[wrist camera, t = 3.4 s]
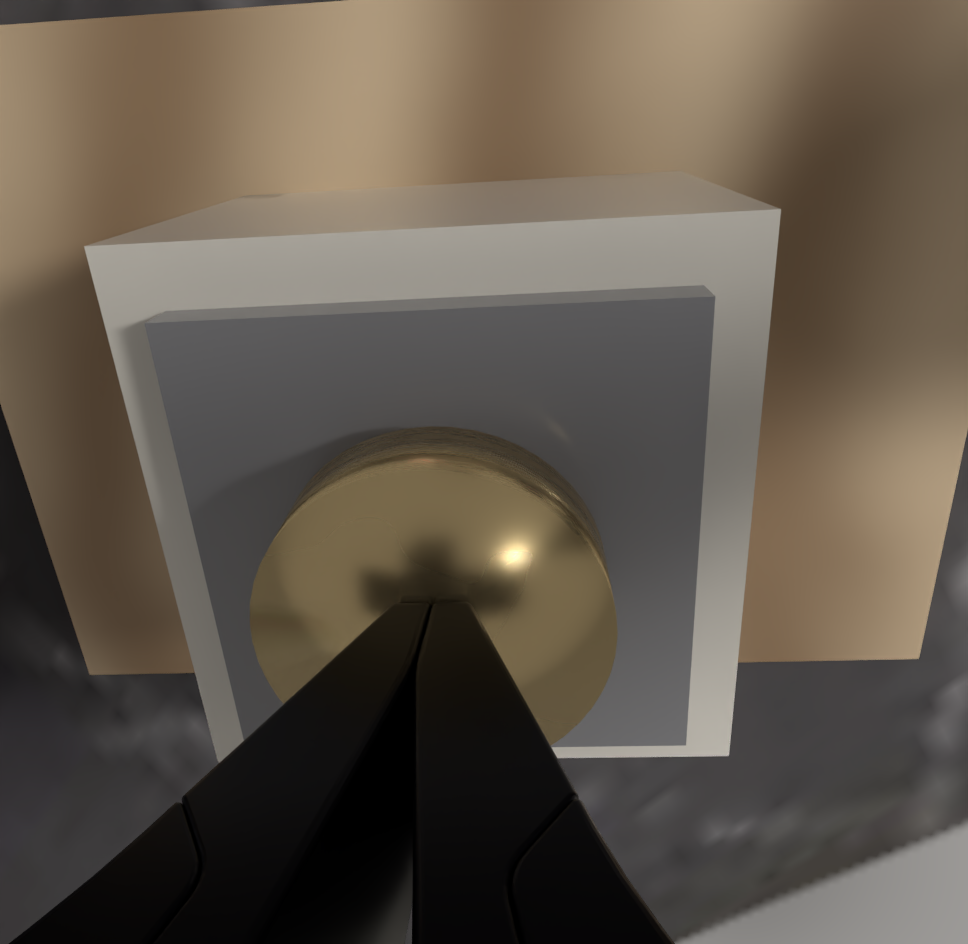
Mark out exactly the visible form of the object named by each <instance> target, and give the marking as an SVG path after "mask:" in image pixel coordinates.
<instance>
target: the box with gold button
mask: <svg viewBox="0 0 968 944" xmlns="http://www.w3.org/2000/svg"><path fill="white" fill-rule="evenodd" d="M780 215H781V209H780V208H777V207H774V206H772V205H769V204H766V203H764V202H761V201H758V200H756V199H753V198H751V197H748V196H745V195H743V194H740V193H737V192H735V191H732V190H730V189H727V188H724V187H722V186H719V185H716V184H714V183H711V182H709V181H706V180H703V179H701V178H698V177H695V176H693V175H690V174H688V173H685V172H682V171H669V172H652V173H634V174H616V175H599V176H581V177H564V178H546V179H528V180H511V181H493V182H475V183H458V184H440V185H422V186H405V187H387V188H370V189H352V190H334V191H317V192H299V193H281V194H264V195H246V196H242V197H239V198H236V199H233V200H230V201H227V202H223V203H220V204H217V205H214V206H211V207H207V208H204V209H201V210H198V211H195V212H192V213H188V214H185V215H182V216H179V217H176V218H172V219H169V220H166V221H163V222H160V223H157V224H153V225H150V226H147V227H144V228H141V229H138V230H134V231H131V232H128V233H125V234H122V235H118V236H115V237H112V238H109V239H106V240H103V241H99V242H96V243H93V244H90V245H87V246H84V248H85V252H86V256H87V260H88V264H89V267H90V271H91V275H92V279H93V283H94V287H95V291H96V294H97V298H98V302H99V306H100V310H101V314H102V317H103V321H104V325H105V329H106V333H107V337H108V341H109V344H110V348H111V352H112V356H113V360H114V364H115V367H116V371H117V375H118V379H119V383H120V387H121V391H122V394H123V398H124V402H125V406H126V410H127V414H128V417H129V421H130V425H131V429H132V433H133V437H134V441H135V444H136V448H137V452H138V456H139V460H140V464H141V467H142V471H143V475H144V479H145V483H146V487H147V491H148V494H149V498H150V502H151V506H152V510H153V514H154V517H155V521H156V525H157V529H158V533H159V537H160V541H161V544H162V548H163V552H164V556H165V560H166V564H167V567H168V571H169V575H170V579H171V583H172V587H173V591H174V594H175V598H176V602H177V606H178V610H179V614H180V617H181V621H182V625H183V629H184V633H185V637H186V641H187V644H188V648H189V652H190V656H191V660H192V664H193V667H194V671H195V675H196V679H197V683H198V687H199V691H200V694H201V698H202V702H203V706H204V710H205V714H206V717H207V721H208V725H209V729H210V733H211V737H212V741H213V744H214V748H215V752H216V756H217V760H218V762H221V761H222V760H223V759H224V758H225V757H226V756H228V755H229V754H230V753H231V752H232V751H233V750H234V749H235V748H236V747H237V746H238V745H240V744H241V743H242V742H243V741H244V740H245V739H246V738H247V737H248V736H249V735H250V734H252V733H253V732H254V731H255V730H256V729H257V728H258V727H259V726H260V725H261V724H262V723H264V722H265V721H266V720H267V719H268V718H269V717H270V716H271V715H272V714H273V713H274V712H276V711H277V710H278V709H279V708H280V707H281V706H282V705H283V703H282V701H281V700H280V699H279V698H278V697H277V695H276V694H275V692H274V690H273V689H272V687H271V686H270V684H269V683H268V681H267V679H266V677H265V675H264V673H263V671H262V669H261V666H260V664H259V662H258V659H257V656H256V653H255V649H254V646H253V642H252V636H251V629H250V599H251V594H252V588H253V583H254V580H255V577H256V574H257V571H258V568H259V566H260V563H261V561H262V559H263V558H264V556H265V554H266V552H267V550H268V548H269V547H270V545H271V543H272V541H273V539H274V538H275V536H276V534H277V532H278V531H279V529H280V527H281V525H282V524H283V522H284V520H285V518H286V517H287V515H288V513H289V511H290V510H291V508H292V506H293V504H294V503H295V501H296V499H297V497H298V496H299V494H300V493H301V491H302V490H303V489H304V487H305V486H306V485H307V483H308V482H309V481H310V480H311V478H312V477H313V476H314V475H315V474H316V473H317V472H318V471H319V470H320V469H321V468H323V467H324V466H325V465H326V464H327V463H328V462H330V461H331V460H332V459H334V458H335V457H336V456H338V455H339V454H341V453H342V452H343V451H345V450H347V449H349V448H351V447H353V446H355V445H357V444H358V443H360V442H362V441H365V440H368V439H370V438H373V437H376V436H378V435H381V434H384V433H389V432H393V431H397V430H402V429H407V428H417V427H427V426H434V427H456V428H462V429H469V430H475V431H479V432H483V433H486V434H490V435H494V436H497V437H500V438H502V439H505V440H507V441H509V442H512V443H514V444H517V445H519V446H521V447H523V448H524V449H526V450H528V451H530V452H531V453H533V454H535V455H537V456H538V457H540V458H541V459H542V460H544V461H545V462H546V463H548V464H549V465H550V466H552V467H553V468H554V469H556V470H557V471H558V472H559V473H560V474H561V475H562V476H563V477H564V478H565V479H566V480H567V481H568V482H569V483H570V484H571V485H572V486H573V488H574V489H575V490H576V491H577V493H578V494H579V495H580V497H581V498H582V499H583V501H584V502H585V504H586V506H587V507H588V509H589V511H590V513H591V514H592V516H593V518H594V520H595V523H596V525H597V528H598V530H599V533H600V535H601V539H602V543H603V548H604V552H605V557H606V562H607V567H608V573H609V578H610V583H611V588H612V593H613V598H614V604H615V609H616V615H617V631H618V636H617V646H616V655H615V659H614V662H613V666H612V670H611V673H610V676H609V678H608V680H607V683H606V685H605V687H604V690H603V692H602V693H601V695H600V696H599V698H598V699H597V701H596V703H595V704H594V706H593V707H592V709H591V710H590V711H589V712H588V713H587V715H586V716H585V717H584V718H583V719H582V720H581V722H580V723H579V724H578V725H576V726H575V727H574V728H573V729H572V730H571V731H570V732H569V733H568V734H566V735H565V736H564V737H563V738H561V739H560V740H558V741H557V742H555V743H554V744H553V745H551V748H552V749H553V751H554V753H555V755H556V757H557V758H605V757H687V756H729V749H730V739H731V728H732V718H733V707H734V697H735V686H736V676H737V665H738V655H739V644H740V634H741V623H742V613H743V602H744V592H745V582H746V571H747V561H748V550H749V540H750V529H751V519H752V508H753V498H754V487H755V477H756V466H757V456H758V446H759V435H760V425H761V414H762V404H763V393H764V383H765V372H766V362H767V351H768V341H769V330H770V320H771V309H772V299H773V289H774V278H775V268H776V257H777V247H778V236H779V226H780ZM446 297H447V298H446Z"/></svg>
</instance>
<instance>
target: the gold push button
mask: <svg viewBox="0 0 968 944" xmlns="http://www.w3.org/2000/svg"><path fill="white" fill-rule="evenodd" d="M446 298H447V297H446ZM438 602H468V603H470V604H471V605H472V606H473V608H474V610H475V612H476V613H477V615H478V617H479V619H480V621H481V622H482V624H483V626H484V628H485V629H486V631H487V633H488V635H489V637H490V638H491V640H492V642H493V644H494V646H495V647H496V649H497V651H498V653H499V655H500V656H501V658H502V660H503V662H504V663H505V665H506V667H507V669H508V671H509V672H510V674H511V676H512V678H513V680H514V681H515V683H516V685H517V687H518V689H519V690H520V692H521V694H522V696H523V697H524V699H525V701H526V703H527V705H528V706H529V708H530V710H531V712H532V714H533V715H534V717H535V719H536V721H537V723H538V724H539V726H540V728H541V730H542V731H543V733H544V735H545V737H546V739H547V740H548V742H549V744H550V746H551V745H553V744H554V743H555V742H557V741H558V740H560V739H561V738H563V737H564V736H565V735H566V734H568V733H569V732H570V731H571V730H572V729H573V728H574V727H575V726H576V725H578V724H579V723H580V722H581V720H582V719H583V718H584V717H585V716H586V715H587V713H588V712H589V711H590V710H591V709H592V707H593V706H594V704H595V703H596V701H597V699H598V698H599V696H600V695H601V693H602V692H603V690H604V687H605V685H606V683H607V680H608V678H609V676H610V673H611V670H612V666H613V662H614V659H615V655H616V646H617V636H618V631H617V615H616V609H615V604H614V598H613V593H612V588H611V583H610V578H609V573H608V567H607V562H606V557H605V552H604V548H603V543H602V539H601V535H600V533H599V530H598V528H597V525H596V523H595V520H594V518H593V516H592V514H591V513H590V511H589V509H588V507H587V506H586V504H585V502H584V501H583V499H582V498H581V497H580V495H579V494H578V493H577V491H576V490H575V489H574V488H573V486H572V485H571V484H570V483H569V482H568V481H567V480H566V479H565V478H564V477H563V476H562V475H561V474H560V473H559V472H558V471H557V470H556V469H554V468H553V467H552V466H550V465H549V464H548V463H546V462H545V461H544V460H542V459H541V458H540V457H538V456H537V455H535V454H533V453H531V452H530V451H528V450H526V449H524V448H523V447H521V446H519V445H517V444H514V443H512V442H509V441H507V440H505V439H502V438H500V437H497V436H494V435H490V434H486V433H483V432H479V431H475V430H469V429H462V428H456V427H434V426H427V427H417V428H407V429H402V430H397V431H393V432H389V433H384V434H381V435H378V436H376V437H373V438H370V439H368V440H365V441H362V442H360V443H358V444H357V445H355V446H353V447H351V448H349V449H347V450H345V451H343V452H342V453H341V454H339V455H338V456H336V457H335V458H334V459H332V460H331V461H330V462H328V463H327V464H326V465H325V466H324V467H323V468H321V469H320V470H319V471H318V472H317V473H316V474H315V475H314V476H313V477H312V478H311V480H310V481H309V482H308V483H307V485H306V486H305V487H304V489H303V490H302V491H301V493H300V494H299V496H298V497H297V499H296V501H295V503H294V504H293V506H292V508H291V510H290V511H289V513H288V515H287V517H286V518H285V520H284V522H283V524H282V525H281V527H280V529H279V531H278V532H277V534H276V536H275V538H274V539H273V541H272V543H271V545H270V547H269V548H268V550H267V552H266V554H265V556H264V558H263V559H262V561H261V563H260V566H259V568H258V571H257V574H256V577H255V580H254V583H253V588H252V594H251V599H250V629H251V636H252V642H253V646H254V649H255V653H256V656H257V659H258V662H259V664H260V666H261V669H262V671H263V673H264V675H265V677H266V679H267V681H268V683H269V684H270V686H271V687H272V689H273V690H274V692H275V694H276V695H277V697H278V698H279V699H280V700H281V701H282V703H283V704H284V703H285V702H286V701H288V700H289V699H290V698H291V697H292V696H293V695H294V694H295V693H296V692H297V691H298V690H300V689H301V688H302V687H303V686H304V685H305V684H306V683H307V682H308V681H309V680H310V679H312V678H313V677H314V676H315V675H316V674H317V673H318V672H319V671H320V670H321V669H322V668H324V667H325V666H326V665H327V664H328V663H329V662H330V661H331V660H332V659H333V658H334V657H336V656H337V655H338V654H339V653H340V652H341V651H342V650H343V649H344V648H345V647H346V646H348V645H349V644H350V643H351V642H352V641H353V640H354V639H355V638H356V637H357V636H358V635H360V634H361V633H362V632H363V631H364V630H365V629H366V628H367V627H368V626H369V625H370V624H372V623H373V622H374V621H375V620H376V619H377V618H378V617H379V616H380V615H381V614H382V613H384V612H385V611H386V610H387V609H388V608H389V607H390V606H392V605H393V604H396V603H428V604H429V605H430V606H431V608H432V606H433V605H434V604H435V603H438Z"/></svg>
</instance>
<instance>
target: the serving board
mask: <svg viewBox="0 0 968 944" xmlns="http://www.w3.org/2000/svg"><path fill="white" fill-rule="evenodd" d="M669 171H682V172H685V173H688V174H690V175H693V176H695V177H698V178H701V179H703V180H706V181H709V182H711V183H714V184H716V185H719V186H722V187H724V188H727V189H730V190H732V191H735V192H737V193H740V194H743V195H745V196H748V197H751V198H753V199H756V200H758V201H761V202H764V203H766V204H769V205H772V206H774V207H777V208H780V209H781V215H780V226H779V236H778V247H777V257H776V268H775V278H774V289H773V299H772V309H771V320H770V330H769V341H768V351H767V362H766V372H765V383H764V393H763V404H762V414H761V425H760V435H759V446H758V456H757V466H756V477H755V487H754V498H753V508H752V519H751V529H750V540H749V550H748V561H747V571H746V582H745V592H744V602H743V613H742V623H741V634H740V644H739V655H738V662H783V661H835V660H886V659H919V656H920V651H921V646H922V642H923V637H924V632H925V627H926V623H927V618H928V613H929V609H930V604H931V599H932V595H933V590H934V585H935V581H936V576H937V571H938V566H939V562H940V557H941V552H942V548H943V543H944V538H945V534H946V529H947V524H948V520H949V515H950V510H951V505H952V501H953V496H954V491H955V487H956V482H957V477H958V473H959V468H960V463H961V459H962V454H963V449H964V444H965V440H966V435H967V430H968V0H347V1H333V2H319V3H305V4H291V5H277V6H263V7H249V8H235V9H221V10H207V11H193V12H179V13H165V14H151V15H137V16H123V17H109V18H95V19H81V20H67V21H53V22H39V23H25V24H11V25H0V404H1V407H2V410H3V413H4V416H5V419H6V422H7V425H8V428H9V431H10V434H11V437H12V440H13V444H14V447H15V450H16V453H17V456H18V459H19V462H20V465H21V468H22V471H23V474H24V477H25V480H26V483H27V486H28V489H29V492H30V495H31V498H32V501H33V504H34V507H35V510H36V513H37V516H38V519H39V522H40V525H41V529H42V532H43V535H44V538H45V541H46V544H47V547H48V550H49V553H50V556H51V559H52V562H53V565H54V568H55V571H56V574H57V577H58V580H59V583H60V586H61V589H62V592H63V595H64V598H65V601H66V604H67V607H68V610H69V614H70V617H71V620H72V623H73V626H74V629H75V632H76V635H77V638H78V641H79V644H80V647H81V650H82V653H83V656H84V659H85V662H86V665H87V668H88V671H89V674H90V675H112V674H164V673H195V671H194V667H193V664H192V660H191V656H190V652H189V648H188V644H187V641H186V637H185V633H184V629H183V625H182V621H181V617H180V614H179V610H178V606H177V602H176V598H175V594H174V591H173V587H172V583H171V579H170V575H169V571H168V567H167V564H166V560H165V556H164V552H163V548H162V544H161V541H160V537H159V533H158V529H157V525H156V521H155V517H154V514H153V510H152V506H151V502H150V498H149V494H148V491H147V487H146V483H145V479H144V475H143V471H142V467H141V464H140V460H139V456H138V452H137V448H136V444H135V441H134V437H133V433H132V429H131V425H130V421H129V417H128V414H127V410H126V406H125V402H124V398H123V394H122V391H121V387H120V383H119V379H118V375H117V371H116V367H115V364H114V360H113V356H112V352H111V348H110V344H109V341H108V337H107V333H106V329H105V325H104V321H103V317H102V314H101V310H100V306H99V302H98V298H97V294H96V291H95V287H94V283H93V279H92V275H91V271H90V267H89V264H88V260H87V256H86V252H85V248H84V246H87V245H90V244H93V243H96V242H99V241H103V240H106V239H109V238H112V237H115V236H118V235H122V234H125V233H128V232H131V231H134V230H138V229H141V228H144V227H147V226H150V225H153V224H157V223H160V222H163V221H166V220H169V219H172V218H176V217H179V216H182V215H185V214H188V213H192V212H195V211H198V210H201V209H204V208H207V207H211V206H214V205H217V204H220V203H223V202H227V201H230V200H233V199H236V198H239V197H242V196H246V195H264V194H281V193H299V192H317V191H334V190H352V189H370V188H387V187H405V186H422V185H440V184H458V183H475V182H493V181H511V180H528V179H546V178H564V177H581V176H599V175H616V174H634V173H652V172H669Z"/></svg>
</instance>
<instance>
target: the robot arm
mask: <svg viewBox="0 0 968 944" xmlns="http://www.w3.org/2000/svg"><path fill="white" fill-rule="evenodd" d="M182 804H183V805H182ZM411 908H412V944H675V943H674V942H673V941H672V939H671V938H670V937H669V935H668V934H667V933H666V931H665V930H664V929H663V927H662V926H661V924H660V923H659V922H658V920H657V919H656V917H655V916H654V915H653V913H652V912H651V910H650V909H649V908H648V906H647V905H646V903H645V902H644V901H643V899H642V898H641V896H640V895H639V894H638V892H637V891H636V889H635V888H634V887H633V885H632V884H631V882H630V881H629V880H628V878H627V877H626V875H625V873H624V872H623V870H622V868H621V867H620V865H619V864H618V862H617V860H616V859H615V857H614V855H613V854H612V852H611V850H610V849H609V847H608V846H607V844H606V842H605V841H604V839H603V837H602V836H601V834H600V833H599V831H598V829H597V827H596V825H595V824H594V822H593V820H592V818H591V817H590V815H589V813H588V811H587V809H586V808H585V806H584V804H583V802H582V801H581V800H578V794H577V792H576V791H575V789H574V787H573V785H572V783H571V782H570V780H569V778H568V776H567V774H566V773H565V771H564V769H563V767H562V766H561V764H560V762H559V760H558V758H557V757H556V755H555V753H554V751H553V749H552V748H551V746H550V744H549V742H548V740H547V739H546V737H545V735H544V733H543V731H542V730H541V728H540V726H539V724H538V723H537V721H536V719H535V717H534V715H533V714H532V712H531V710H530V708H529V706H528V705H527V703H526V701H525V699H524V697H523V696H522V694H521V692H520V690H519V689H518V687H517V685H516V683H515V681H514V680H513V678H512V676H511V674H510V672H509V671H508V669H507V667H506V665H505V663H504V662H503V660H502V658H501V656H500V655H499V653H498V651H497V649H496V647H495V646H494V644H493V642H492V640H491V638H490V637H489V635H488V633H487V631H486V629H485V628H484V626H483V624H482V622H481V621H480V619H479V617H478V615H477V613H476V612H475V610H474V608H473V606H472V605H471V604H470V603H468V602H438V603H435V604H434V605H433V606H432V608H431V606H430V605H429V604H428V603H396V604H393V605H392V606H390V607H389V608H388V609H387V610H386V611H385V612H384V613H382V614H381V615H380V616H379V617H378V618H377V619H376V620H375V621H374V622H373V623H372V624H370V625H369V626H368V627H367V628H366V629H365V630H364V631H363V632H362V633H361V634H360V635H358V636H357V637H356V638H355V639H354V640H353V641H352V642H351V643H350V644H349V645H348V646H346V647H345V648H344V649H343V650H342V651H341V652H340V653H339V654H338V655H337V656H336V657H334V658H333V659H332V660H331V661H330V662H329V663H328V664H327V665H326V666H325V667H324V668H322V669H321V670H320V671H319V672H318V673H317V674H316V675H315V676H314V677H313V678H312V679H310V680H309V681H308V682H307V683H306V684H305V685H304V686H303V687H302V688H301V689H300V690H298V691H297V692H296V693H295V694H294V695H293V696H292V697H291V698H290V699H289V700H288V701H286V702H285V703H284V704H283V705H282V706H281V707H280V708H279V709H278V710H277V711H276V712H274V713H273V714H272V715H271V716H270V717H269V718H268V719H267V720H266V721H265V722H264V723H262V724H261V725H260V726H259V727H258V728H257V729H256V730H255V731H254V732H253V733H252V734H250V735H249V736H248V737H247V738H246V739H245V740H244V741H243V742H242V743H241V744H240V745H238V746H237V747H236V748H235V749H234V750H233V751H232V752H231V753H230V754H229V755H228V756H226V757H225V758H224V759H223V760H222V761H221V762H220V763H219V764H218V765H217V766H216V767H214V768H213V769H212V770H211V771H210V772H209V773H208V774H207V775H206V776H205V777H204V778H202V779H201V780H200V781H199V782H198V783H197V784H196V785H195V786H194V787H193V788H192V789H190V790H189V791H188V792H187V793H186V794H185V795H184V796H183V798H182V803H175V804H174V805H173V806H171V807H170V808H169V809H168V810H167V811H166V812H165V813H164V814H163V815H162V816H161V817H159V818H158V819H157V820H156V821H155V822H154V823H153V824H152V825H151V826H150V827H149V828H147V829H146V830H145V831H144V832H143V833H142V834H141V835H140V836H138V837H137V838H136V839H135V840H134V841H133V842H132V843H130V844H129V845H128V846H127V847H126V848H125V849H124V850H122V851H121V852H120V853H119V854H118V855H117V856H116V857H114V858H113V859H112V860H111V861H110V862H109V863H108V864H106V865H105V866H104V867H103V868H102V869H101V870H100V871H98V872H97V873H96V874H95V875H94V876H93V877H91V878H90V879H89V880H88V881H86V882H85V883H84V884H83V885H82V886H80V887H79V888H78V889H77V890H75V891H74V892H73V893H72V894H70V895H69V896H68V897H67V898H65V899H64V900H63V901H62V902H60V903H59V904H58V905H57V906H56V907H54V908H53V909H52V910H51V911H49V912H48V913H47V914H46V915H44V916H43V917H42V918H41V919H39V920H38V921H37V922H36V923H35V924H33V925H32V926H31V927H30V928H28V929H27V930H26V931H24V932H23V933H22V934H21V935H19V936H18V937H17V938H15V939H14V940H13V941H12V942H10V943H9V944H405V939H406V933H407V928H408V923H409V918H410V913H411Z"/></svg>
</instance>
